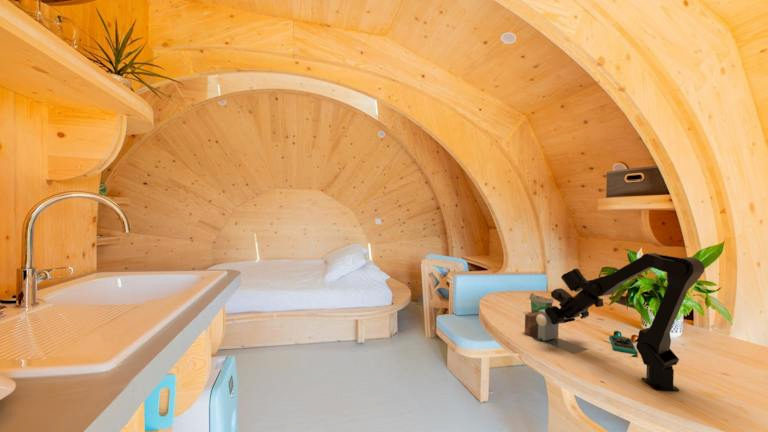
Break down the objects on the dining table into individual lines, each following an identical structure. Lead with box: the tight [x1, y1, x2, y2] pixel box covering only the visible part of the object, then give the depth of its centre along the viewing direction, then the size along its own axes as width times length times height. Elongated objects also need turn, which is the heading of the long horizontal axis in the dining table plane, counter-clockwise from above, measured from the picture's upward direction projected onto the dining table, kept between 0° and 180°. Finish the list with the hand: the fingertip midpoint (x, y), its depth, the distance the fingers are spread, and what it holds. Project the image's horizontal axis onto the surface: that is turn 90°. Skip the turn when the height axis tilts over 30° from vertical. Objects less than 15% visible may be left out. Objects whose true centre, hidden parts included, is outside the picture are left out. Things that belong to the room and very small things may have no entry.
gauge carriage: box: [536, 309, 559, 341], centre depth 134 cm, size 6×10×11 cm, turn 117°
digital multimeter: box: [608, 335, 639, 358], centre depth 128 cm, size 7×15×3 cm, turn 151°
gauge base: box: [521, 332, 589, 355], centre depth 132 cm, size 22×10×1 cm, turn 27°
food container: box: [528, 292, 555, 313], centre depth 165 cm, size 12×6×10 cm, turn 25°
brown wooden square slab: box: [524, 312, 538, 337], centre depth 140 cm, size 2×8×8 cm, turn 117°
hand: (552, 323), depth 132 cm, fingers closed
